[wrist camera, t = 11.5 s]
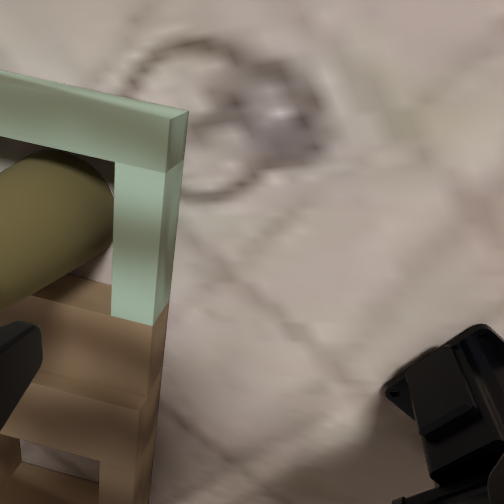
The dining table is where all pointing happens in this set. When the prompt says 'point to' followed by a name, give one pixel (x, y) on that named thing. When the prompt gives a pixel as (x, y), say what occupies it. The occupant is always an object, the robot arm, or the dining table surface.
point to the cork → (49, 221)
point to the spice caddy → (98, 300)
